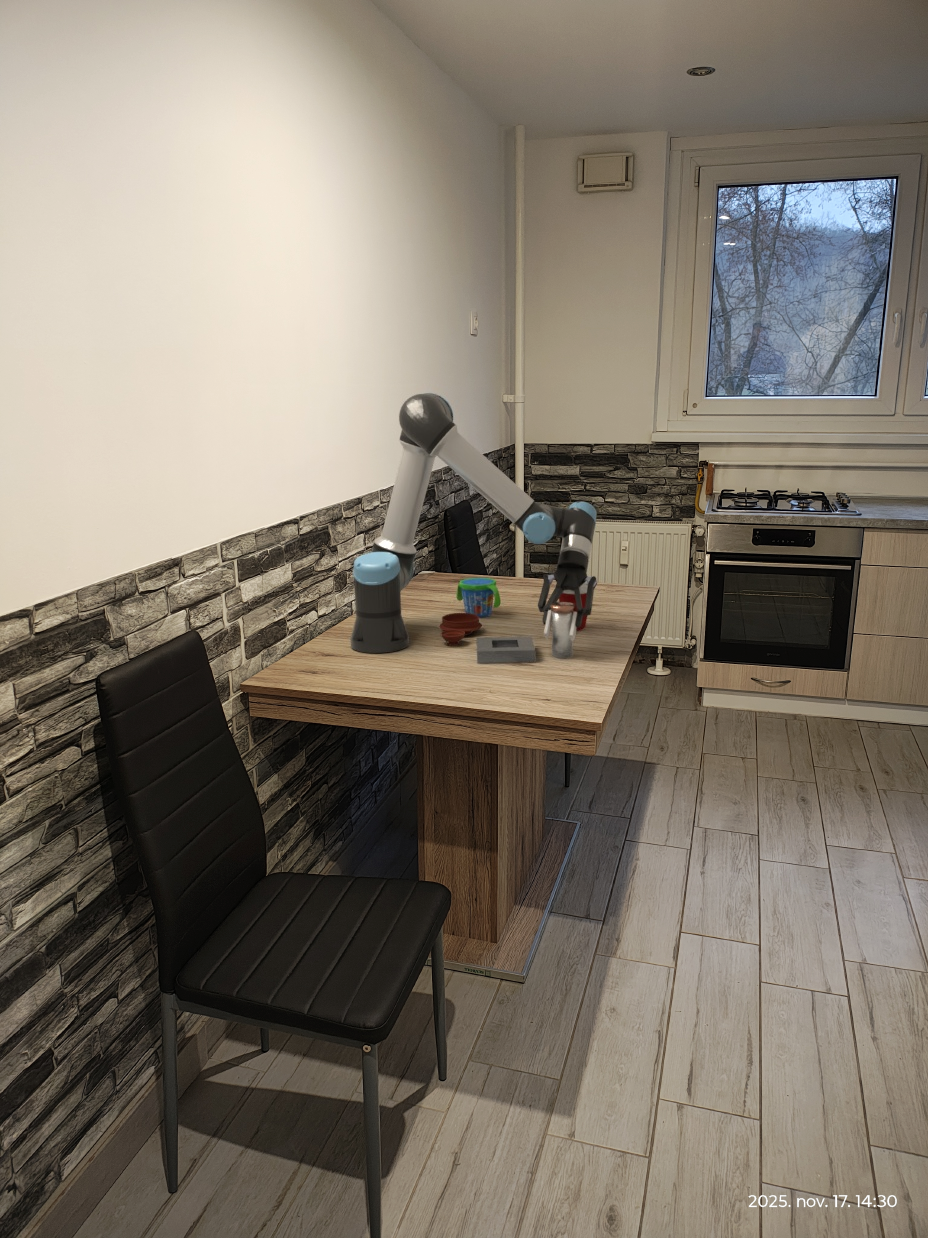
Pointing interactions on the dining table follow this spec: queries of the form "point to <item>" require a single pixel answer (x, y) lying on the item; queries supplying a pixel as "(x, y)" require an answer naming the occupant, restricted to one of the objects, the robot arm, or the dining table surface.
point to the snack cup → (478, 595)
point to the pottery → (458, 626)
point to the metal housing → (505, 649)
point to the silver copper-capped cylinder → (562, 629)
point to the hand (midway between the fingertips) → (558, 636)
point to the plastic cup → (570, 597)
